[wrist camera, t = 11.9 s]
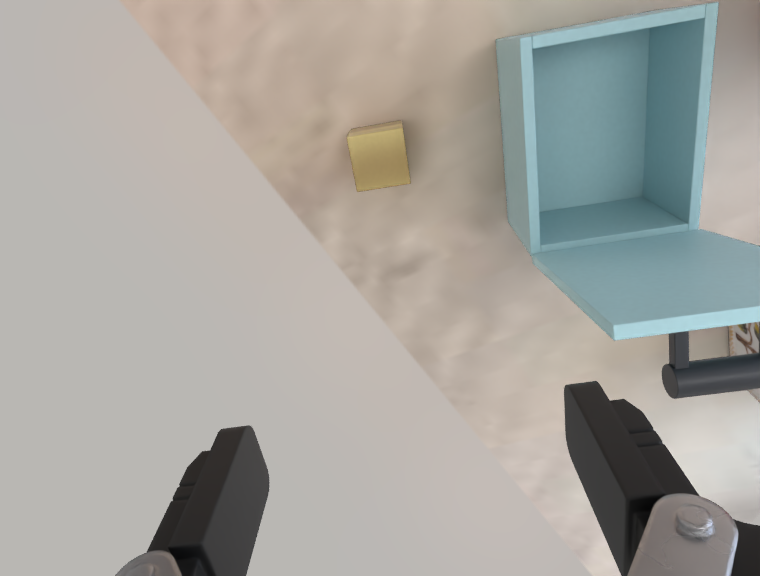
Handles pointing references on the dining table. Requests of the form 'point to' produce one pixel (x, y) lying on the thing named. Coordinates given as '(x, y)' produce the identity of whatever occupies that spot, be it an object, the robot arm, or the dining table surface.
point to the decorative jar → (745, 343)
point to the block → (378, 156)
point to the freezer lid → (668, 298)
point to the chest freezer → (606, 127)
